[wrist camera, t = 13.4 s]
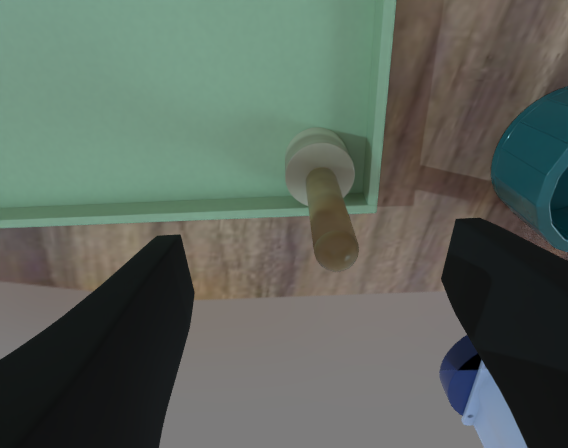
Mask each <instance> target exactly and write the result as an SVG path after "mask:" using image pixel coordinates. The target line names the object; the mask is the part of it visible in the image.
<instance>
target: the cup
mask: <svg viewBox="0 0 568 448" xmlns="http://www.w3.org/2000/svg"><path fill="white" fill-rule="evenodd" d="M491 179H492V184H493V188H494V190H495V192H496V194H497V196H498V197H499V198H500V200H501V201H502V202H503V203H504V204H505V205H506V206H508V208H509V209H510V210H511V211H512V212H513V213H514V214H515V215H517V216H518V217H519V218H520V219H521V220H522V221H524V222H525V223H526V224H527V225H528V226H529V227H531V228H532V229H533V230H534V231H535V232H536V233H537V234H539V235H540V236H541V237H542V238H543V239H544V240H546V241H547V242H548V243H549V244H550V245H551V246H553V247H554V248H556V249H559V250H562V251H565V252H568V86H567V87H564V88H561V89H558V90H556V91H553V92H551V93H549V94H547V95H545V96H544V97H542V98H540V99H539V100H537V101H535V102H534V103H533V104H531V105H530V106H529V107H527V108H526V109H525V110H524V111H523V112H522V113H521V114H520V115H518V117H517V118H516V119H515V120H514V121H513V122H512V123H511V124H510V126H509V127H508V128H507V130H506V131H505V132H504V134H503V136H502V137H501V139H500V141H499V143H498V145H497V147H496V150H495V153H494V156H493V160H492V165H491Z"/></svg>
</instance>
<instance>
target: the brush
mask: <svg viewBox="0 0 568 448" xmlns="http://www.w3.org/2000/svg"><path fill="white" fill-rule="evenodd" d="M354 178H355V169H354V164H353V161H352V159H351V157H350V155H349V153H348V151H347V149H346V147H345V144H344V142H343V141H342V139H341V138H340V137H339V136H338V135H337V134H336V133H334V132H333V131H331V130H329V129H325V128H318V127H315V128H309V129H306V130H303V131H302V132H300V133H298V134H297V135H296V136H295V137H294V138H293V139H292V140H291V141H290V143H289V144H288V147H287V149H286V153H285V182H286V186H287V188H288V190H289V192H290V194H291V195H292V196H293V197H294V198H295V199H296V200H297V201H299V202H300V203H302V204H304V205H307V206H308V208H309V216H310V223H311V231H312V239H313V247H314V254H315V257H316V260H317V261H318V262H319V264H320V265H321V266H322V267H324V268H325V269H327V270H329V271H334V272H339V271H344V270H346V269H348V268H350V267H351V266H352V265H353V264H354V262H355V261H356V259H357V257H358V252H359V247H358V242H357V239H356V236H355V233H354V230H353V227H352V224H351V221H350V218H349V214H348V211H347V208H346V205H345V202H344V199H343V198H344V197H345V196H346V195H347V193H348V192H349V191H350V189H351V187H352V185H353V182H354Z"/></svg>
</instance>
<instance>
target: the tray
mask: <svg viewBox="0 0 568 448" xmlns="http://www.w3.org/2000/svg"><path fill="white" fill-rule="evenodd" d="M395 11H396V0H0V228H18V227H42V226H67V225H92V224H117V223H141V222H166V221H191V220H216V219H241V218H265V217H290V216H309V208H308V206H307V205H304V204H302V203H300V202H299V201H297V200H296V199H295V198H294V197H293V196H292V195H291V194H290V192H289V190H288V188H287V186H286V182H285V153H286V149H287V147H288V144H289V143H290V141H291V140H292V139H293V138H294V137H295V136H296V135H297V134H298V133H300V132H302V131H303V130H306V129H309V128H315V127H318V128H325V129H329V130H331V131H333V132H334V133H336V134H337V135H338V136H339V137H340V138H341V139H342V141H343V142H344V144H345V147H346V149H347V151H348V153H349V155H350V157H351V159H352V161H353V164H354V169H355V178H354V182H353V185H352V187H351V189H350V191H349V192H348V193H347V195H346V196H345V197H344V198H343V199H344V202H345V205H346V208H347V211H348V214H364V213H376V212H377V202H378V191H379V181H380V170H381V160H382V149H383V138H384V128H385V117H386V106H387V96H388V85H389V74H390V64H391V53H392V43H393V32H394V21H395Z"/></svg>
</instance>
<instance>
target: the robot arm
mask: <svg viewBox="0 0 568 448" xmlns="http://www.w3.org/2000/svg"><path fill="white" fill-rule="evenodd" d="M441 280H442V283H443V285H444V288H445V290H446V293H447V296H448V298H449V300H450V303H451V305H452V307H453V309H454V312H455V314H456V316H457V317H458V319H459V321H460V323H461V325H462V326H463V328H464V330H465V332H466V333H467V335H468V337H469V339H470V340H471V342H472V344H473V345H474V347H475V349H476V350H477V352H478V354H479V356H480V357H481V359H482V360H481V363H480V366H479V369H478V372H477V375H476V378H475V381H474V384H473V387H472V390H471V393H470V396H469V399H468V402H467V404H466V407H465V410H464V413H463V417H462V422H463V424H464V425H474V427H475V429H476V431H477V433H478V436H479V438H480V440H481V442H482V444H483V447H484V448H568V261H567V260H565V259H563V258H561V257H559V256H557V255H555V254H553V253H551V252H549V251H547V250H545V249H543V248H541V247H539V246H537V245H535V244H533V243H531V242H529V241H527V240H525V239H523V238H521V237H519V236H517V235H516V234H514V233H512V232H510V231H508V230H506V229H504V228H502V227H499V226H497V225H495V224H493V223H491V222H489V221H486V220H484V219H481V218H465V219H456V221H455V225H454V229H453V233H452V237H451V241H450V245H449V249H448V253H447V257H446V261H445V265H444V269H443V273H442V277H441ZM194 294H195V293H194V288H193V284H192V280H191V276H190V272H189V268H188V263H187V259H186V255H185V251H184V247H183V243H182V238H181V235H163V236H156V237H155V238H154V239H153V240H151V241H150V242H149V243H148V244H147V245H146V246H145V247H143V248H142V249H141V250H140V251H139V252H138V253H137V254H136V255H135V256H133V257H132V258H131V259H130V260H129V261H128V262H127V263H126V264H125V265H123V266H122V267H121V268H120V269H119V270H118V271H117V272H116V273H114V274H113V275H112V276H111V277H110V278H109V279H108V280H106V281H105V282H104V283H103V284H102V285H101V286H100V287H98V288H97V289H96V290H95V291H93V292H92V293H91V294H90V295H88V296H87V297H86V298H85V299H84V300H82V301H81V302H80V303H79V304H77V305H76V306H75V307H74V308H72V309H71V310H70V311H69V312H67V313H66V314H65V315H64V316H62V317H61V318H60V319H58V320H57V321H56V322H54V323H53V324H52V325H51V326H49V327H48V328H46V329H45V330H44V331H42V332H41V333H39V334H38V335H36V336H35V337H33V338H32V339H30V340H29V341H28V342H26V343H25V344H23V345H22V346H20V347H19V348H18V349H16V350H14V351H13V352H11V353H10V354H8V355H7V356H5V357H4V358H2V359H1V360H0V448H159V443H160V438H161V433H162V427H163V423H164V419H165V415H166V411H167V407H168V403H169V400H170V396H171V393H172V389H173V386H174V382H175V379H176V375H177V372H178V368H179V364H180V361H181V357H182V354H183V350H184V346H185V343H186V339H187V336H188V332H189V328H190V322H191V316H192V309H193V301H194Z"/></svg>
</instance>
